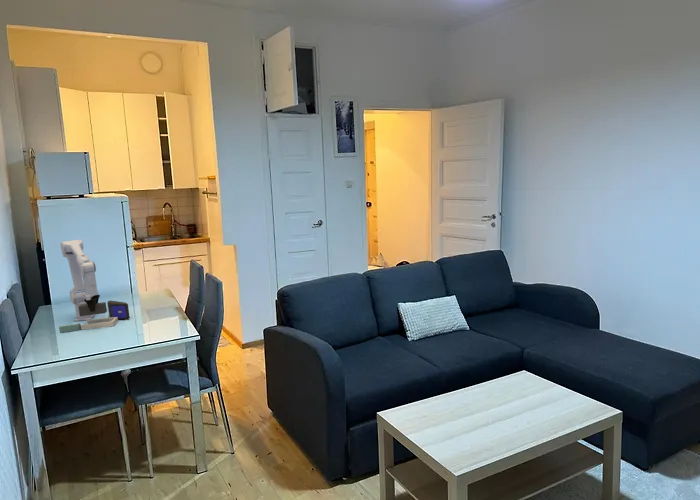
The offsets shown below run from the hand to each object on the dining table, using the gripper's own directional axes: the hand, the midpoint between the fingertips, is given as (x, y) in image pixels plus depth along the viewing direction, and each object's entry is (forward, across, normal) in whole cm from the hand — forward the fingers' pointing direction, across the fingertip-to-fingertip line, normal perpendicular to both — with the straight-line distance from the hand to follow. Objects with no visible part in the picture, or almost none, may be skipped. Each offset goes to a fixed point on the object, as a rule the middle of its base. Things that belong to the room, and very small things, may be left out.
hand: (94, 310), depth 252 cm
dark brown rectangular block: (+2, 0, 0) cm, 2 cm away
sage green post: (+8, +5, -11) cm, 14 cm away
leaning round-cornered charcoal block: (+9, -11, +9) cm, 17 cm away
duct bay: (+8, 0, +2) cm, 9 cm away
